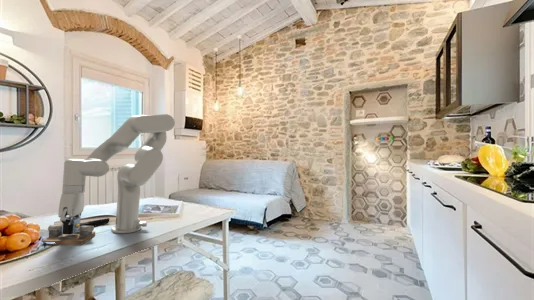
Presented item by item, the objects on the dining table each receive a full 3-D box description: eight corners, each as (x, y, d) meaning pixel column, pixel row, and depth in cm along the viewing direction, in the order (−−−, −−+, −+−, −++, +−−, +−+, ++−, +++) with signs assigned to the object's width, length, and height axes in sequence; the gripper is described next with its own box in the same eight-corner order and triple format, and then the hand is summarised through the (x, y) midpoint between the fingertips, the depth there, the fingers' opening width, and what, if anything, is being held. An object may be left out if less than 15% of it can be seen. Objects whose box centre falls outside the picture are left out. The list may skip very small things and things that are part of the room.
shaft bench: (97, 235, 113) (98, 222, 113) (84, 244, 102) (85, 230, 102) (57, 234, 110) (58, 221, 110) (39, 244, 99) (40, 229, 99)
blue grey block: (60, 234, 104) (61, 219, 104) (66, 230, 108) (67, 216, 108) (75, 234, 105) (76, 219, 105) (81, 230, 109) (82, 216, 109)
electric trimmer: (110, 224, 129) (111, 218, 129) (74, 231, 116) (75, 224, 116) (107, 223, 131) (107, 217, 131) (71, 229, 118) (72, 222, 118)
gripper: (75, 185, 114) (72, 225, 114) (50, 191, 97) (47, 239, 97) (93, 185, 115) (91, 225, 115) (72, 192, 99) (68, 239, 99)
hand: (71, 231), depth 106 cm, fingers closed on blue grey block, 4 cm apart
